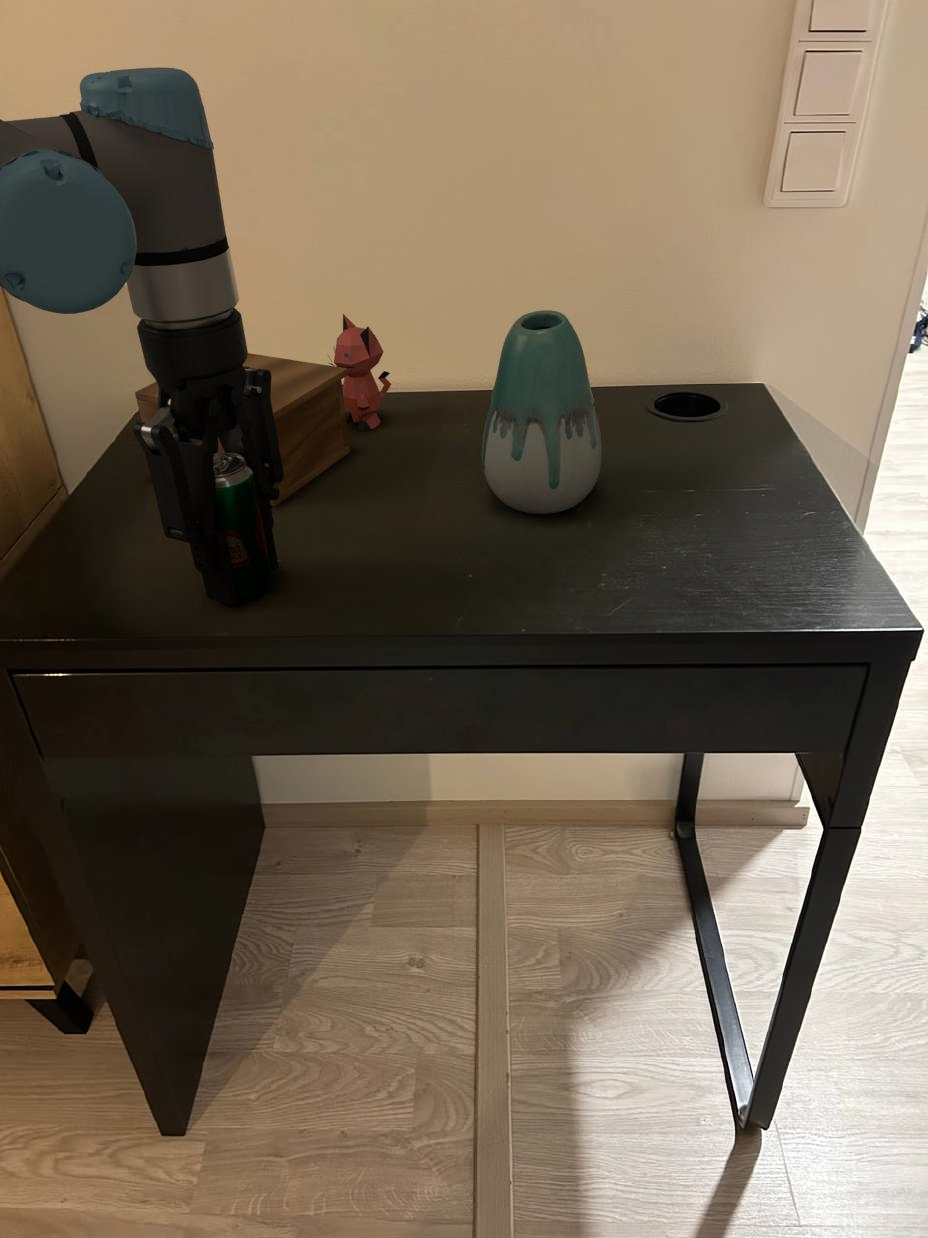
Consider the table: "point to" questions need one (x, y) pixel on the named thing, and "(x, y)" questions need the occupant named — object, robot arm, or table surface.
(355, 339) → the cat figurine
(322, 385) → the chest lid
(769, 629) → the table surface
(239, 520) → the soda can
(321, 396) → the chest
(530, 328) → the vase
